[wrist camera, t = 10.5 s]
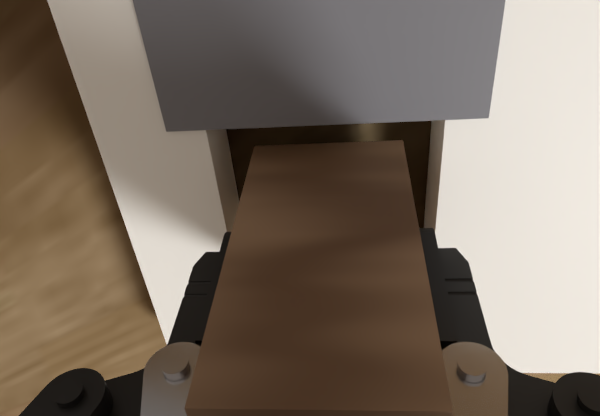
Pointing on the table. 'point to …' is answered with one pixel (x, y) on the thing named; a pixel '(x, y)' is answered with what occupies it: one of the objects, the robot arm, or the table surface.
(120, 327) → the table surface
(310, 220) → the brown wooden block
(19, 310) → the table surface
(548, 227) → the subfloor panel
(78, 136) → the table surface
